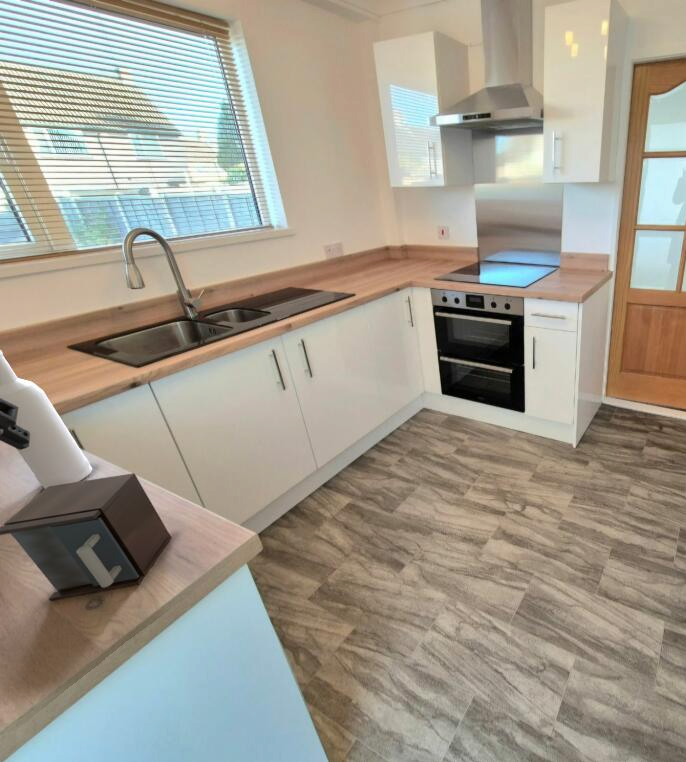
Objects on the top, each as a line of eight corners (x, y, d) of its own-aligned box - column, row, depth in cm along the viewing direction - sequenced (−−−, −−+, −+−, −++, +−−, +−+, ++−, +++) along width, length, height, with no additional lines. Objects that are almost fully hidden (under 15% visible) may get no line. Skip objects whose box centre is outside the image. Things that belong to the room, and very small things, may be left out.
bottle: (53, 494, 86) (-43, 359, 73) (36, 485, 90) (-59, 353, 76) (100, 471, 93) (20, 342, 79) (82, 463, 96) (2, 338, 83)
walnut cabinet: (50, 601, 63) (-7, 532, 57) (94, 551, 72) (48, 486, 66) (139, 584, 65) (93, 515, 59) (171, 537, 74) (134, 472, 67)
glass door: (78, 606, 61) (30, 545, 56) (95, 584, 65) (52, 525, 59) (124, 597, 62) (82, 537, 57) (139, 576, 65) (100, 517, 60)
